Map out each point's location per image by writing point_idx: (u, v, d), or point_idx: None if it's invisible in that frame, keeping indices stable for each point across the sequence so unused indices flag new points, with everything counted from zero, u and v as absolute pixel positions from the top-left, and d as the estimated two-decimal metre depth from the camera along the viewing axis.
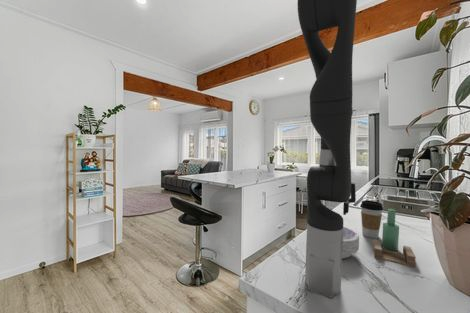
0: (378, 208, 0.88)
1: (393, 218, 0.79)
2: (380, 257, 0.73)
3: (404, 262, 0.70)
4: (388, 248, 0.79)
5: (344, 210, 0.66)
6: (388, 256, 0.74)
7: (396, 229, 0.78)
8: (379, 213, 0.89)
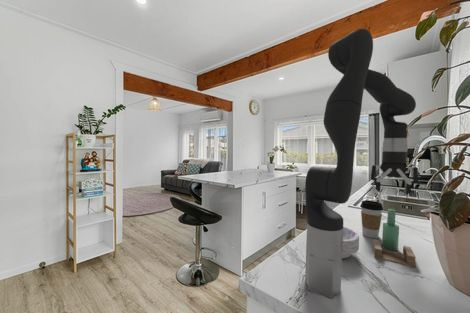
0: (378, 208, 0.88)
1: (393, 218, 0.79)
2: (380, 257, 0.73)
3: (404, 262, 0.70)
4: (388, 248, 0.79)
5: (407, 190, 0.77)
6: (388, 256, 0.74)
7: (396, 229, 0.78)
8: (379, 213, 0.89)
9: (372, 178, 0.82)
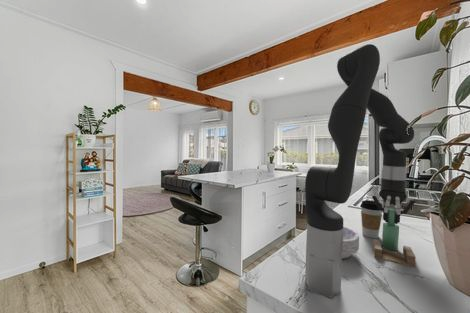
0: None
1: (393, 218, 0.79)
2: (380, 257, 0.73)
3: (404, 262, 0.70)
4: (388, 248, 0.79)
5: (396, 220, 0.79)
6: (388, 256, 0.74)
7: (396, 229, 0.78)
8: (379, 213, 0.89)
9: (379, 208, 0.81)
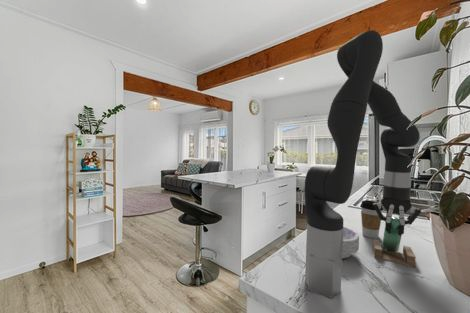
0: None
1: (396, 228, 0.73)
2: (380, 257, 0.73)
3: (404, 262, 0.70)
4: (389, 250, 0.78)
5: (400, 231, 0.71)
6: (388, 256, 0.74)
7: (398, 237, 0.74)
8: None
9: (381, 218, 0.74)
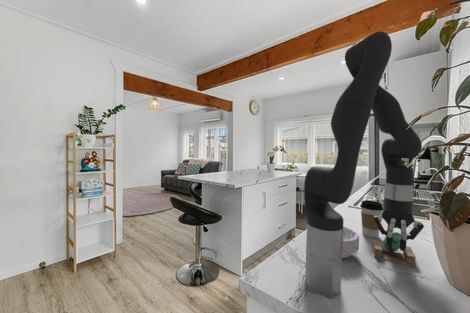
0: (378, 208, 0.88)
1: (397, 241, 0.70)
2: (380, 257, 0.73)
3: (404, 262, 0.70)
4: None
5: (402, 246, 0.68)
6: (388, 256, 0.74)
7: (399, 247, 0.72)
8: (379, 213, 0.89)
9: (382, 232, 0.70)
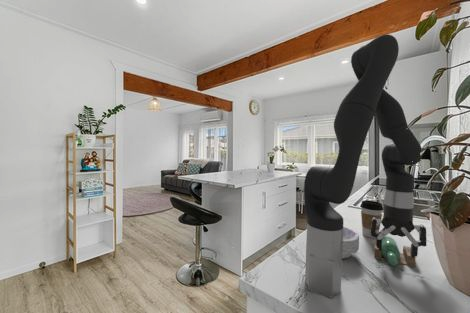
0: (378, 208, 0.88)
1: None
2: (380, 257, 0.73)
3: (404, 262, 0.70)
4: None
5: (413, 253, 0.66)
6: None
7: None
8: (379, 213, 0.89)
9: (372, 234, 0.71)
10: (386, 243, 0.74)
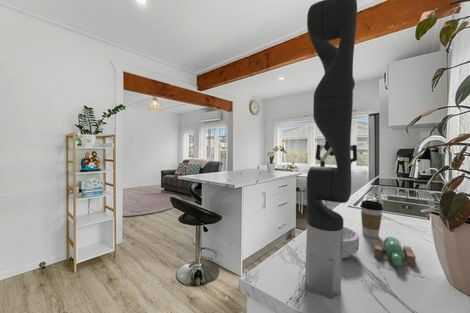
0: (378, 208, 0.88)
1: None
2: (380, 257, 0.73)
3: (404, 262, 0.70)
4: None
5: None
6: None
7: None
8: (379, 213, 0.89)
9: (316, 157, 0.83)
10: (394, 243, 0.73)
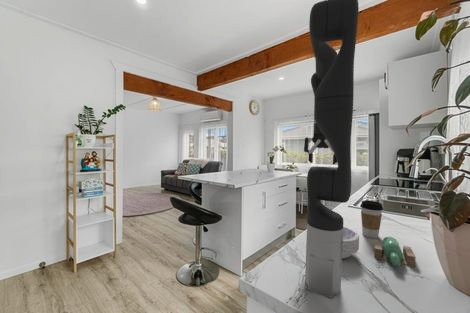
0: (378, 208, 0.88)
1: None
2: (380, 257, 0.73)
3: (404, 262, 0.70)
4: None
5: (333, 160, 0.81)
6: None
7: None
8: (379, 213, 0.89)
9: (305, 150, 0.86)
10: (390, 243, 0.74)
